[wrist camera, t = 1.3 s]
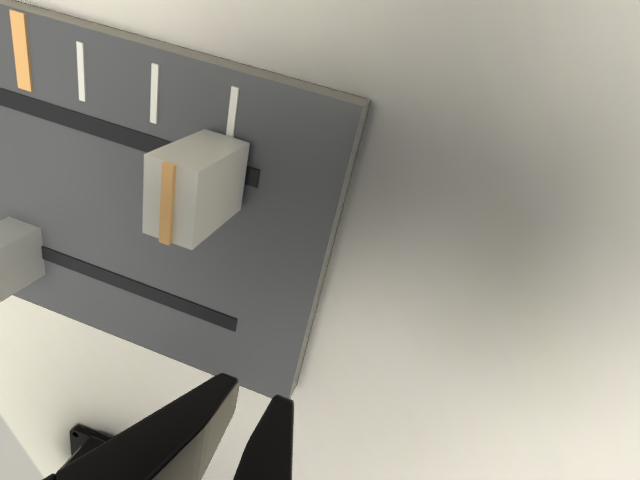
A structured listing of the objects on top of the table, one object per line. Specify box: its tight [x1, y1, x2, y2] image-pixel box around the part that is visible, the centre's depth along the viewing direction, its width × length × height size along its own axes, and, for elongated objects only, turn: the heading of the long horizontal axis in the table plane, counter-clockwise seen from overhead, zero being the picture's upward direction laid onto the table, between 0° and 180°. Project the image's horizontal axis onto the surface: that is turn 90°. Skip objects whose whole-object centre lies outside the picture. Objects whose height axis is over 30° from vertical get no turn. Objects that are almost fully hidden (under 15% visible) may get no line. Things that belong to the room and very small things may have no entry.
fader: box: [142, 129, 250, 250], centre depth 17 cm, size 3×2×4 cm, turn 167°
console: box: [0, 0, 370, 399], centre depth 21 cm, size 16×24×6 cm, turn 77°
